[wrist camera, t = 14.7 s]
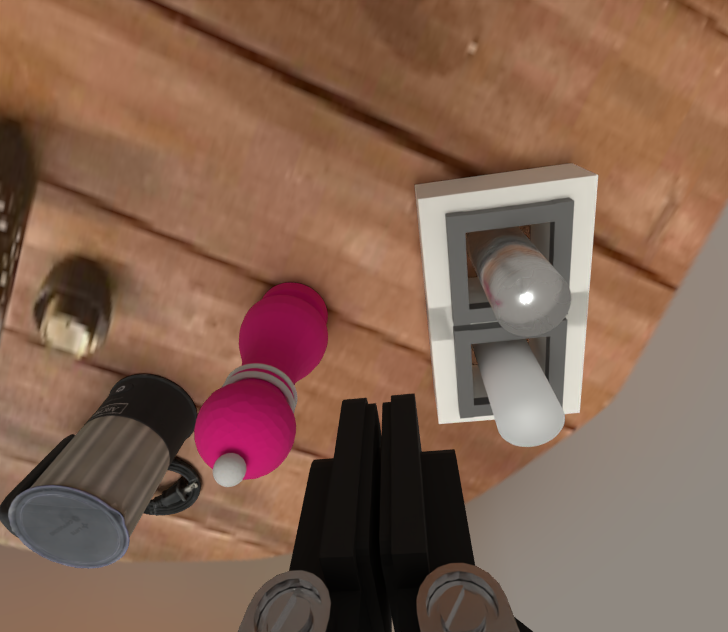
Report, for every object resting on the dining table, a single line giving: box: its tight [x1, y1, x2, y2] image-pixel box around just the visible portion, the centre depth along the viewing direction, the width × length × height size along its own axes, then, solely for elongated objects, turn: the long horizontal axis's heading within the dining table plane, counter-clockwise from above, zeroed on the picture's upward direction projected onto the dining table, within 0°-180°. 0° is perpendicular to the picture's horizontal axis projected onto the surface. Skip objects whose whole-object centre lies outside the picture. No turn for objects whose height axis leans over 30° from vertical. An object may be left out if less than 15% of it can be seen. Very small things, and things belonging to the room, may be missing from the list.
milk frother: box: [0, 374, 201, 568], centre depth 44 cm, size 14×16×15 cm
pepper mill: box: [194, 282, 328, 487], centre depth 33 cm, size 7×7×20 cm
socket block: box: [415, 163, 598, 447], centre depth 35 cm, size 20×12×12 cm, turn 8°
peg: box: [466, 226, 571, 337], centre depth 33 cm, size 4×4×12 cm
